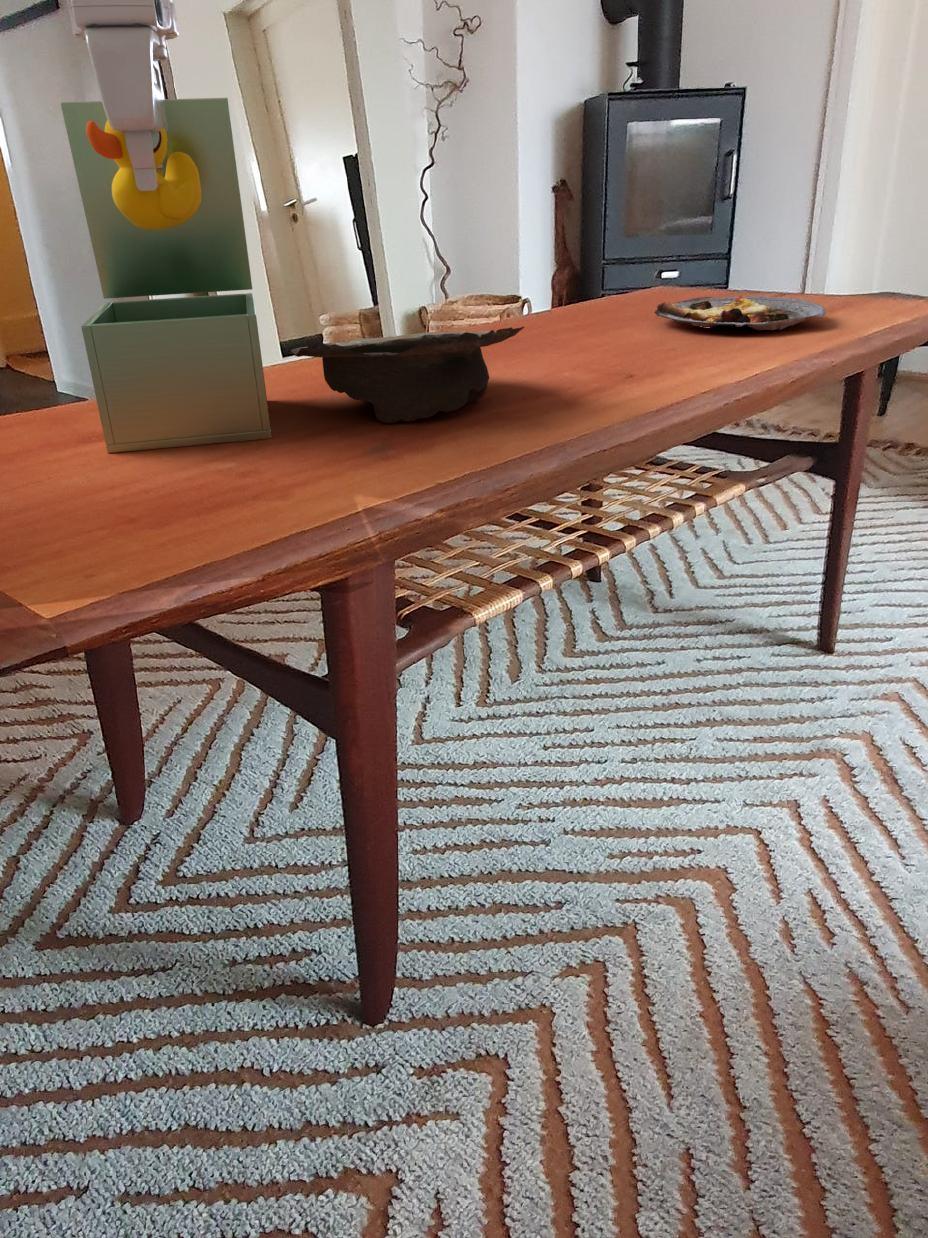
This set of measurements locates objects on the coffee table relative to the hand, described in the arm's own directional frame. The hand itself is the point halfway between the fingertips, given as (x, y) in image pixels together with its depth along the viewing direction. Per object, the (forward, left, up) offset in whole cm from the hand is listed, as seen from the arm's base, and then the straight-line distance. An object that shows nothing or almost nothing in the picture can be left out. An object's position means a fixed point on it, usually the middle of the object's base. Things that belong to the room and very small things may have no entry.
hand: (152, 189), depth 87 cm
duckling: (0, 0, -4) cm, 4 cm away
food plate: (+80, +37, -23) cm, 91 cm away
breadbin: (0, +2, -23) cm, 23 cm away
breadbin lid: (0, +9, -1) cm, 9 cm away
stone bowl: (+23, +3, -23) cm, 33 cm away
